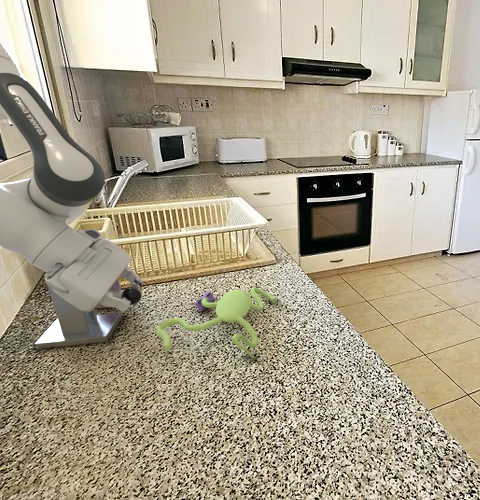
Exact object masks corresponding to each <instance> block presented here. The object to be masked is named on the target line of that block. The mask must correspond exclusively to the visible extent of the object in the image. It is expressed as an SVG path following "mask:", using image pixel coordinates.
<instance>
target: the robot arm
mask: <svg viewBox="0 0 480 500" xmlns="http://www.w3.org/2000/svg"><path fill="white" fill-rule="evenodd" d="M0 120H8V121H9V122H10V124H11V125H12V126H13V127H14V129H15V131H16V132H17V133H18V135H19V136H20V138H21V139H22V140H23V141H24V143H25V144H26V146H27V147H28V149H29V150H30V153H31V155H32V160H33V167H32V168H33V169H32V175H31V177H29V178H26V179H22V180H18V181H12V182H3V183H2V182H1V183H0V247H1V248H3V249H5V250H7V251H10V252H13V253H15V254H17V255H18V254H19V255H20V256H21V257H23V258H25V259H26V261H27V262H29V264H31V265H33V266H35V268H38V269H40V270H42V271H44V272H45V273H44V275H43V278H44V281H45V282H46V285H47V287H48V286H50V287H51V288H52V290H53V291H54V292H55V293H56V294H57V295H58V296H60V297H61V298H63V299H64V300H65V301H67V302H68V303H70V304H71V305H73V306H75V307H76V308H78V309H79V310H82V311H87V312H90V311H92V310H93V309H94V307H95V306H96V305H97V304H98V303H100V304H101V305H103V306H107V307H110V308H114V309H117V310H119V311H121V312H127V310H128V309H129V307H130V306H131V305H130V304H131V302H130V301H129V300H127V299H125V298H124V297H123V299H120V298H117V297H114V296H113V294H112V293H110V292H108V290H109V289H110V288H111V286H112V285H113V284H114V282H115V281H116V280H117V279H118V278H122V279H126V280H127V281H128V282H129V283H130V287H135V288H138V289H139V290H140V288H141V287H142V286H143V284H144V283H145V280H144V279H142V278H141V277H139V276H138V274H137V273H136V272H135V270H133V268H131V267H129V266H128V265H130V263H131V261H132V260H133V258H132V256H131V255H130V254H129V253H128V252H127V251H125V250H124V249H123V248H122V247H120V246H119V245H117V244H116V243H114V242H112V241H111V240H110V239H108V238H106V237H105V238H104V237H102V236H103V234H102V233H101V232H100V231H98V230H97V229H95V228H89V229H77V230H76V229H74V228H73V227H71V226H69V225H70V224H71V223H74V222H75V221H76V220H78V219H80V218H81V217H82V216H84V214H85V212H86V211H87V210H88V208H89V207H90V205H91V203H92V202H93V200H95V198H97V196H98V195H99V194H100V193H101V192H102V191H103V189H104V186H105V182H106V176H105V172H104V169H103V167H102V165H101V164H100V163H99V162H98V160H96V159H95V157H94V156H92V155H91V154H90V153H89V152H88V151H86V149H84V147H82V146H80V144H78V143H77V142H76V141H75V140H74V139H73V138H72V136H71V135H70V134H69V132H68V131H67V130H66V129H65V127H64V126H63V124H62V123H61V121H60V120H59V119H58V118H57V116H56V115H55V113H54V112H53V111H52V109H51V108H50V107H49V105H48V104H47V102H46V101H45V100H44V99H43V97H42V96H41V94H39V92H38V91H37V89H36V88H35V87H34V86H33V85H32V84H31V83H30V82H29V81H27V79H26V77H25V76H24V74H23V73H22V71H21V69H20V68H19V67H18V64H17V62H16V61H15V60H14V58H13V57H12V56H11V54H10V52H8V50H7V49H6V47H5V46H4V45H3V43H2V42H1V41H0ZM95 308H96V307H95Z"/></svg>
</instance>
